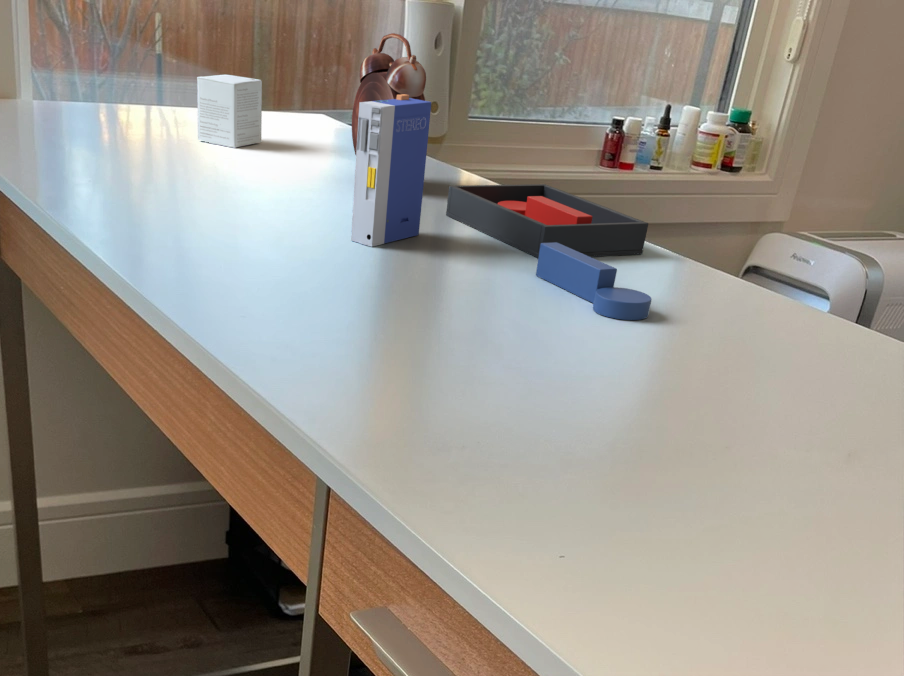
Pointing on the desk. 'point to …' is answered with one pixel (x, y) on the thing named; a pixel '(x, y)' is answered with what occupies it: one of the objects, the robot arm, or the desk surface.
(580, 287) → the blue spoon
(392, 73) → the alarm clock
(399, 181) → the walkman
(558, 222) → the red spoon
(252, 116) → the product box
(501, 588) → the desk surface
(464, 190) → the tray
